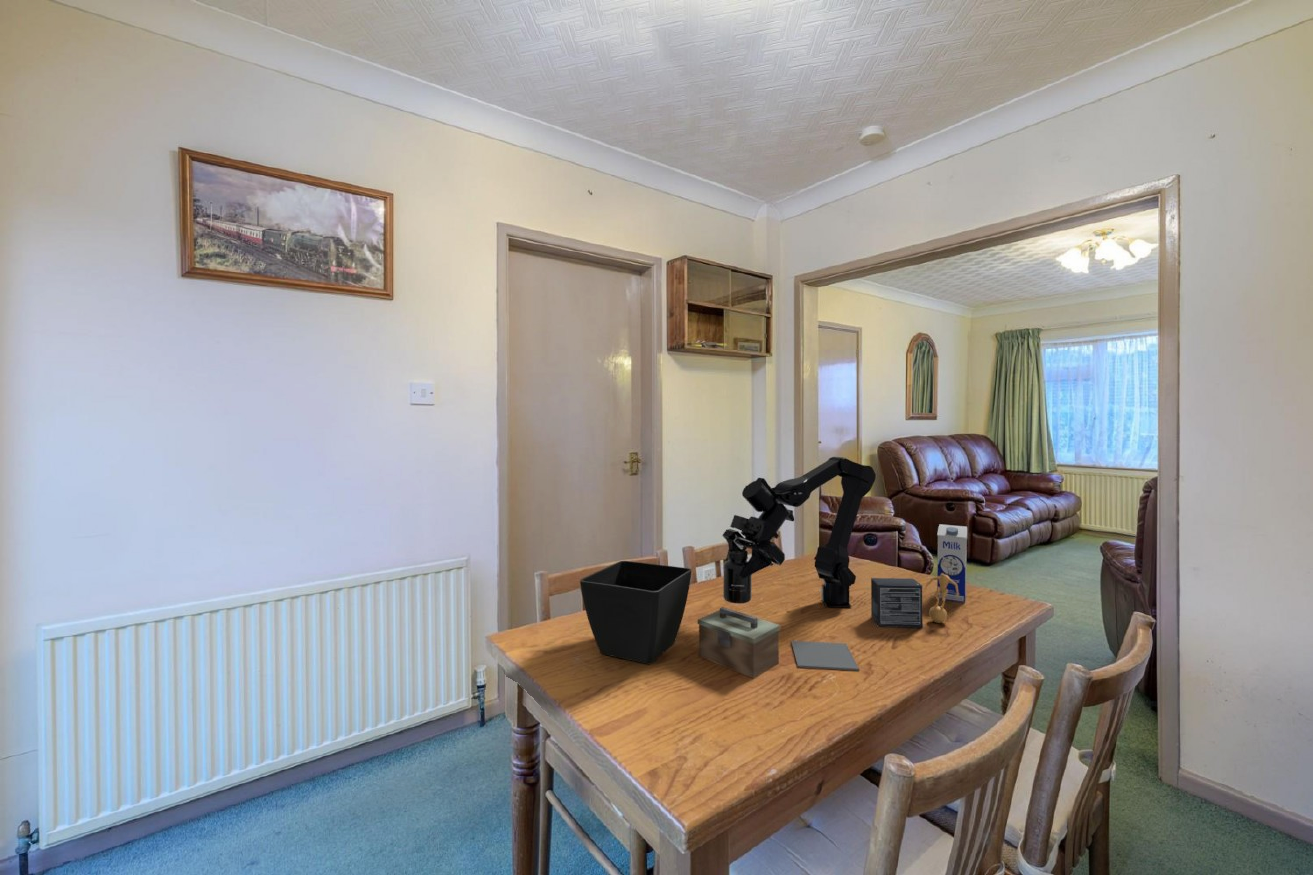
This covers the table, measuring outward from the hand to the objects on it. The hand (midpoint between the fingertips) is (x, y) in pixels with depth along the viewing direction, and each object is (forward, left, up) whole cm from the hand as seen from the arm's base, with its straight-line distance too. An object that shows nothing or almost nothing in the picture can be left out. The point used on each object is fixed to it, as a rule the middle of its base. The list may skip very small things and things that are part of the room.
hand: (732, 573), depth 128 cm
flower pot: (+21, +14, -13) cm, 29 cm away
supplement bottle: (-1, -1, -7) cm, 7 cm away
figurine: (-51, -10, -13) cm, 54 cm away
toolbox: (-1, +17, -13) cm, 22 cm away
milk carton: (-61, -29, -13) cm, 69 cm away
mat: (-19, +13, -13) cm, 27 cm away
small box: (-40, -8, -13) cm, 43 cm away
